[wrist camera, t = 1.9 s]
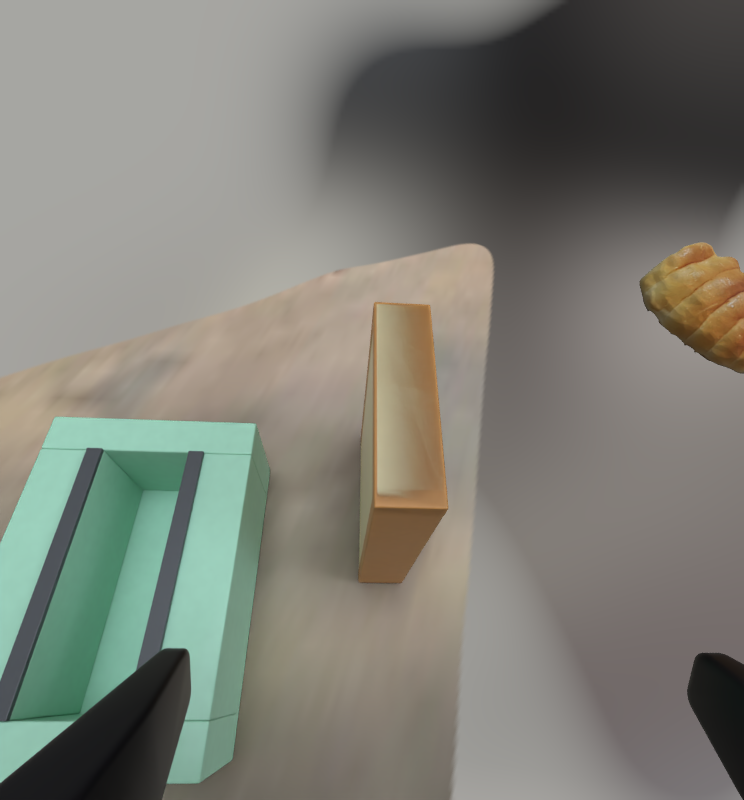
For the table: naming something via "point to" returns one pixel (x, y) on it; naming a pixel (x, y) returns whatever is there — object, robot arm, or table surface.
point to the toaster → (131, 577)
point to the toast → (399, 444)
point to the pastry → (700, 302)
